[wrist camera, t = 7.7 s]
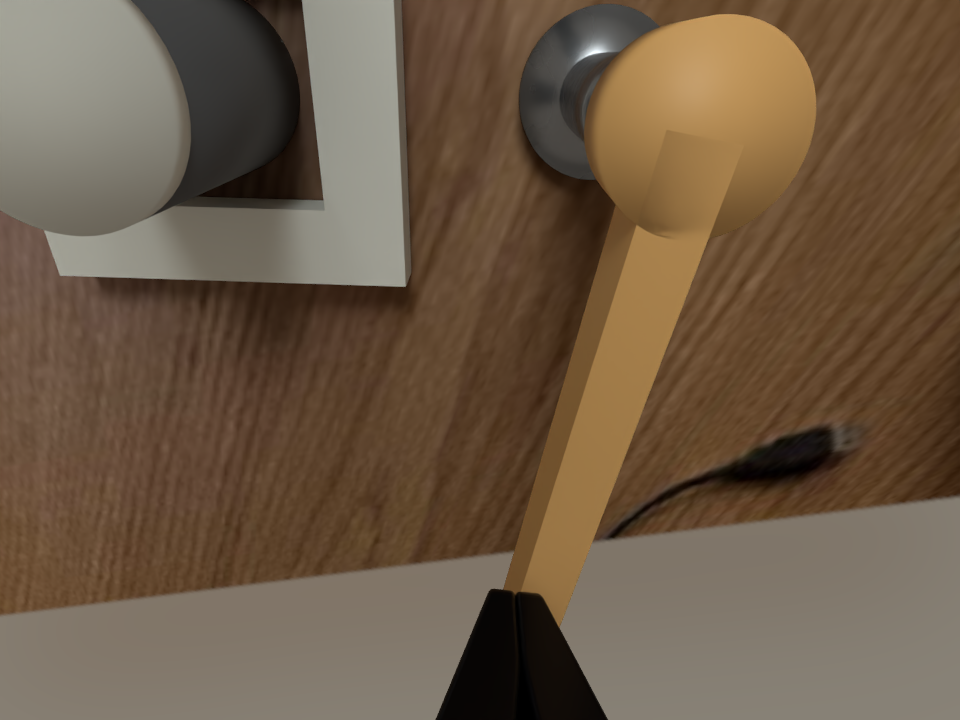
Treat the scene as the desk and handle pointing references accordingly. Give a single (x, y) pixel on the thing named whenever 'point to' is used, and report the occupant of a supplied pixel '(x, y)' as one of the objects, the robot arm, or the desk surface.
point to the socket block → (286, 222)
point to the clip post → (572, 80)
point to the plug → (134, 106)
